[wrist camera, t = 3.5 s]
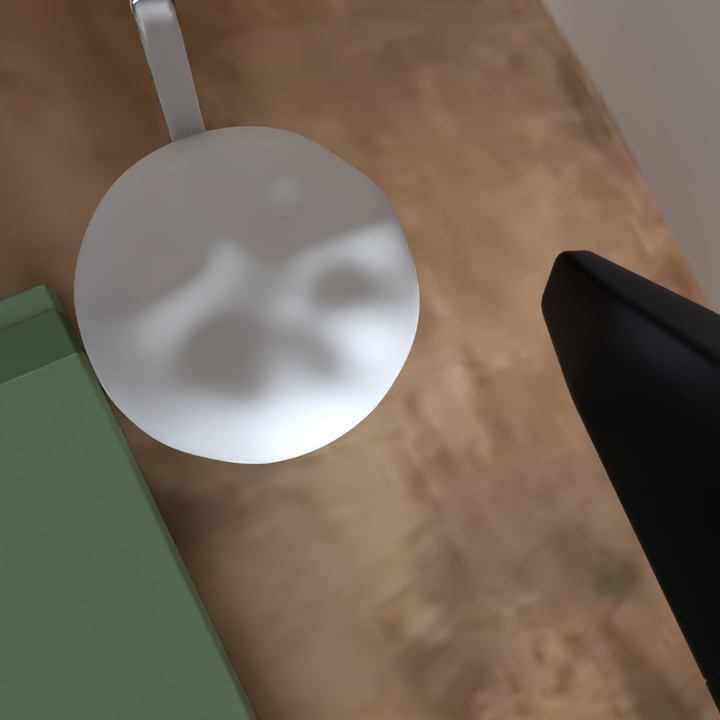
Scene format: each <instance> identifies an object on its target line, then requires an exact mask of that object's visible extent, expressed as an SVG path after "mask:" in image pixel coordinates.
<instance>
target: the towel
mask: <svg viewBox="0 0 720 720" xmlns="http://www.w3.org/2000/svg"><path fill="white" fill-rule="evenodd" d="M0 720H258V718H257V716H256V714H255V712H254V710H253V708H252V706H251V704H250V701H249V699H248V697H247V695H246V693H245V691H244V689H243V687H242V684H241V682H240V680H239V678H238V676H237V674H236V672H235V670H234V668H233V665H232V663H231V661H230V659H229V657H228V655H227V653H226V651H225V649H224V646H223V644H222V642H221V640H220V638H219V636H218V634H217V632H216V629H215V627H214V625H213V623H212V621H211V619H210V617H209V615H208V613H207V610H206V608H205V606H204V604H203V602H202V600H201V598H200V596H199V594H198V591H197V589H196V587H195V585H194V583H193V581H192V579H191V577H190V575H189V572H188V570H187V568H186V566H185V564H184V562H183V560H182V558H181V555H180V553H179V551H178V549H177V547H176V545H175V543H174V541H173V539H172V536H171V534H170V532H169V530H168V528H167V526H166V524H165V522H164V520H163V517H162V515H161V513H160V511H159V509H158V507H157V505H156V503H155V501H154V498H153V496H152V494H151V492H150V490H149V488H148V486H147V484H146V481H145V479H144V477H143V475H142V473H141V471H140V469H139V467H138V465H137V462H136V460H135V458H134V456H133V454H132V452H131V450H130V448H129V446H128V443H127V441H126V439H125V437H124V435H123V433H122V431H121V429H120V426H119V424H118V422H117V420H116V418H115V416H114V414H113V412H112V410H111V407H110V405H109V403H108V401H107V399H106V397H105V395H104V393H103V391H102V388H101V386H100V384H99V382H98V380H97V378H96V376H95V374H94V372H93V369H92V367H91V365H90V363H89V361H88V359H87V357H86V355H85V352H84V350H83V348H82V346H81V344H80V342H79V340H78V337H77V335H76V333H75V331H74V329H73V327H72V325H71V323H70V321H69V318H68V316H67V314H66V312H65V310H64V308H63V306H62V304H61V302H60V300H59V298H58V295H57V293H56V291H55V290H53V289H52V288H50V287H49V286H47V285H45V284H41V285H38V286H36V287H33V288H31V289H28V290H26V291H23V292H20V293H18V294H15V295H13V296H10V297H8V298H5V299H2V300H0Z"/></svg>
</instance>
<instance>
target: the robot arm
mask: <svg viewBox="0 0 720 720" xmlns="http://www.w3.org/2000/svg"><path fill="white" fill-rule="evenodd" d="M541 307H542V313H543V316H544V319H545V322H546V325H547V328H548V331H549V334H550V337H551V340H552V343H553V346H554V349H555V352H556V355H557V358H558V361H559V364H560V367H561V370H562V373H563V376H564V378H565V381H566V384H567V387H568V389H569V392H570V395H571V397H572V399H573V402H574V404H575V406H576V409H577V411H578V413H579V415H580V417H581V419H582V421H583V424H584V426H585V428H586V430H587V432H588V434H589V436H590V438H591V441H592V443H593V445H594V447H595V449H596V451H597V453H598V455H599V457H600V460H601V462H602V464H603V466H604V468H605V470H606V472H607V474H608V477H609V479H610V481H611V483H612V485H613V487H614V489H615V491H616V494H617V496H618V498H619V500H620V502H621V504H622V506H623V508H624V510H625V513H626V515H627V517H628V519H629V521H630V523H631V525H632V527H633V530H634V532H635V534H636V536H637V538H638V540H639V542H640V544H641V547H642V549H643V551H644V553H645V555H646V557H647V559H648V561H649V563H650V566H651V568H652V570H653V572H654V574H655V576H656V578H657V580H658V583H659V585H660V587H661V589H662V591H663V593H664V595H665V597H666V600H667V602H668V604H669V606H670V608H671V610H672V612H673V614H674V616H675V619H676V621H677V623H678V625H679V627H680V629H681V631H682V633H683V636H684V638H685V640H686V642H687V644H688V646H689V648H690V650H691V653H692V655H693V657H694V659H695V661H696V663H697V665H698V667H699V669H700V672H701V674H702V676H703V678H704V679H705V680H707V681H706V685H707V687H708V689H709V692H710V694H711V696H712V698H713V700H714V702H715V704H716V706H717V709H718V711H719V713H720V315H719V314H717V313H715V312H713V311H711V310H709V309H707V308H705V307H703V306H701V305H699V304H697V303H695V302H693V301H691V300H689V299H687V298H685V297H682V296H680V295H678V294H676V293H674V292H672V291H670V290H668V289H666V288H664V287H662V286H660V285H658V284H656V283H654V282H652V281H650V280H648V279H646V278H644V277H642V276H640V275H638V274H636V273H633V272H631V271H629V270H627V269H625V268H623V267H621V266H619V265H617V264H615V263H613V262H611V261H609V260H607V259H605V258H603V257H601V256H599V255H597V254H595V253H593V252H590V251H586V250H582V251H564V252H562V253H560V254H559V255H558V257H557V258H556V260H555V262H554V265H553V268H552V271H551V273H550V276H549V279H548V282H547V285H546V287H545V290H544V293H543V296H542V302H541Z"/></svg>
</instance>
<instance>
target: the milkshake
mask: <svg viewBox="0 0 720 720" xmlns="http://www.w3.org/2000/svg"><path fill="white" fill-rule="evenodd" d="M130 6H131V10H132V14H133V17H134V21H135V24H136V27H137V31H138V34H139V37H140V40H141V44H142V47H143V50H144V53H145V57H146V60H147V63H148V66H149V70H150V73H151V76H152V79H153V82H154V86H155V89H156V92H157V95H158V99H159V102H160V105H161V108H162V112H163V115H164V118H165V121H166V125H167V128H168V131H169V134H170V138H171V141H172V143H170V144H168V145H166V146H164V147H162V148H160V149H158V150H156V151H154V152H153V153H151V154H149V155H148V156H146V157H144V158H143V159H141V160H140V161H138V162H137V163H136V164H134V165H133V166H132V167H130V168H129V169H128V170H127V171H126V172H125V173H123V174H122V175H121V176H120V177H119V178H118V179H117V180H116V181H115V183H114V184H113V185H112V186H111V187H110V189H109V190H108V191H107V193H106V194H105V196H104V197H103V199H102V200H101V202H100V204H99V205H98V207H97V209H96V211H95V213H94V215H93V217H92V219H91V221H90V223H89V226H88V228H87V230H86V233H85V236H84V239H83V241H82V245H81V248H80V252H79V256H78V260H77V266H76V272H75V281H74V303H75V311H76V316H77V321H78V325H79V329H80V333H81V337H82V340H83V343H84V346H85V349H86V352H87V355H88V357H89V360H90V362H91V365H92V367H93V369H94V371H95V374H96V376H97V378H98V379H99V381H100V383H101V385H102V386H103V388H104V390H105V391H106V392H107V394H108V395H109V397H110V398H111V399H112V401H113V402H114V403H115V404H116V406H117V407H118V408H119V409H120V410H121V411H122V412H123V413H124V414H125V415H126V416H127V417H128V418H129V419H130V420H131V421H132V422H133V423H134V424H135V425H137V426H138V427H139V428H140V429H141V430H143V431H144V432H145V433H147V434H148V435H150V436H151V437H153V438H154V439H156V440H158V441H159V442H161V443H163V444H165V445H167V446H170V447H172V448H175V449H177V450H180V451H183V452H186V453H190V454H193V455H197V456H201V457H206V458H211V459H216V460H221V461H227V462H235V463H246V464H263V463H273V462H278V461H283V460H287V459H291V458H295V457H298V456H301V455H304V454H306V453H309V452H312V451H314V450H316V449H319V448H321V447H323V446H325V445H327V444H329V443H330V442H332V441H334V440H336V439H337V438H339V437H340V436H342V435H344V434H345V433H346V432H348V431H349V430H351V429H352V428H353V427H355V426H356V425H357V424H358V423H360V422H361V421H362V420H363V419H364V418H365V417H366V416H367V415H368V414H369V413H370V412H371V411H372V410H373V409H374V408H375V407H376V406H377V405H378V403H379V402H380V401H381V400H382V398H383V397H384V396H385V394H386V393H387V392H388V390H389V389H390V387H391V386H392V384H393V382H394V381H395V379H396V377H397V376H398V374H399V372H400V370H401V369H402V367H403V365H404V363H405V361H406V358H407V356H408V354H409V352H410V349H411V346H412V344H413V341H414V337H415V334H416V330H417V324H418V317H419V285H418V278H417V273H416V269H415V265H414V261H413V258H412V255H411V252H410V249H409V246H408V243H407V240H406V238H405V235H404V232H403V230H402V227H401V225H400V222H399V220H398V217H397V215H396V213H395V211H394V209H393V207H392V205H391V203H390V202H389V200H388V199H387V197H386V196H385V194H384V193H383V192H382V190H381V189H380V188H379V187H378V186H377V185H376V184H375V183H374V182H373V181H371V180H370V179H369V178H368V177H367V176H365V175H364V174H363V173H361V172H360V171H359V170H357V169H356V168H355V167H353V166H352V165H350V164H349V163H347V162H346V161H344V160H342V159H341V158H339V157H338V156H336V155H335V154H333V153H332V152H330V151H329V150H327V149H326V148H324V147H322V146H321V145H319V144H317V143H315V142H314V141H312V140H310V139H308V138H306V137H303V136H301V135H298V134H296V133H293V132H289V131H286V130H282V129H277V128H270V127H259V126H242V127H229V128H222V129H216V130H210V131H206V129H205V125H204V121H203V116H202V112H201V108H200V104H199V100H198V95H197V91H196V87H195V83H194V79H193V74H192V70H191V66H190V62H189V58H188V53H187V49H186V45H185V41H184V37H183V33H182V28H181V24H180V20H179V16H178V12H177V8H176V4H175V0H130Z"/></svg>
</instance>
